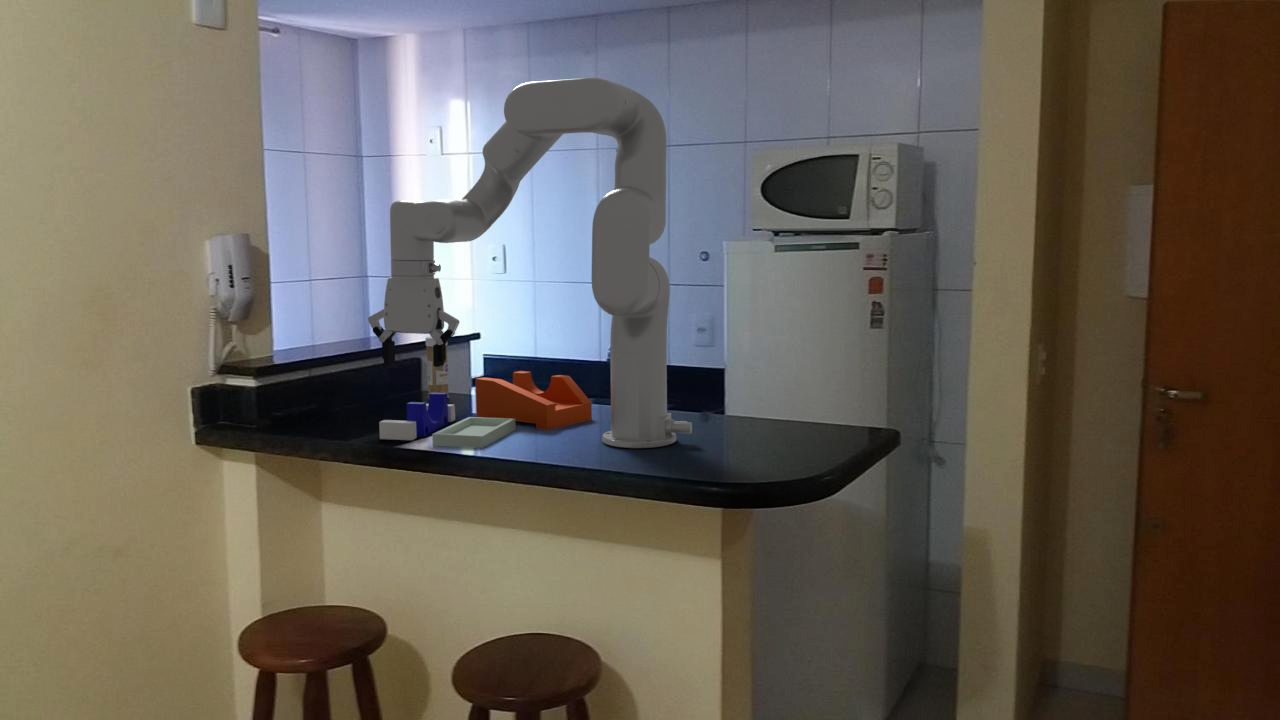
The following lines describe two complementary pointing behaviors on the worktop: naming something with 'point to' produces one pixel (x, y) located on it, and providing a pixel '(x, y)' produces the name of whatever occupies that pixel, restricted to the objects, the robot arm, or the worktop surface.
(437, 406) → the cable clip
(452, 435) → the tray
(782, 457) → the worktop surface
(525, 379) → the tape dispenser
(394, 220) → the robot arm
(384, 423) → the white rectangular blocks
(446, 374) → the sprinkles bottle
